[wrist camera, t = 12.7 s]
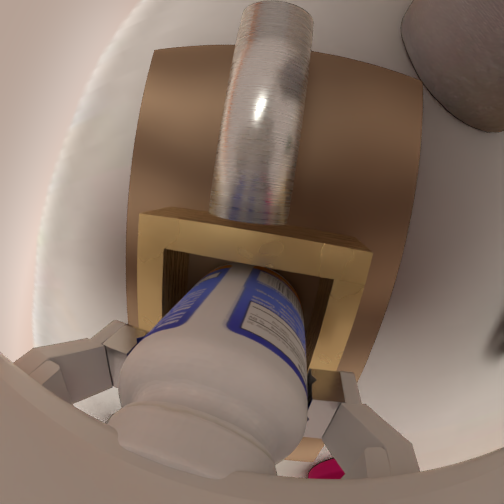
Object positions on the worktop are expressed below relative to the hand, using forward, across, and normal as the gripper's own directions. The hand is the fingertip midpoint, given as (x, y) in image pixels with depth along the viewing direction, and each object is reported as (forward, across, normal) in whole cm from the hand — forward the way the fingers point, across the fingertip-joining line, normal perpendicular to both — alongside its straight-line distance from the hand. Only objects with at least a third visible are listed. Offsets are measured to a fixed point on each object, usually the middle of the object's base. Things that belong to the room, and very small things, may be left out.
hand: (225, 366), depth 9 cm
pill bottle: (+5, 0, 0) cm, 5 cm away
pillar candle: (+7, -11, -17) cm, 21 cm away
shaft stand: (+6, 0, 0) cm, 7 cm away
